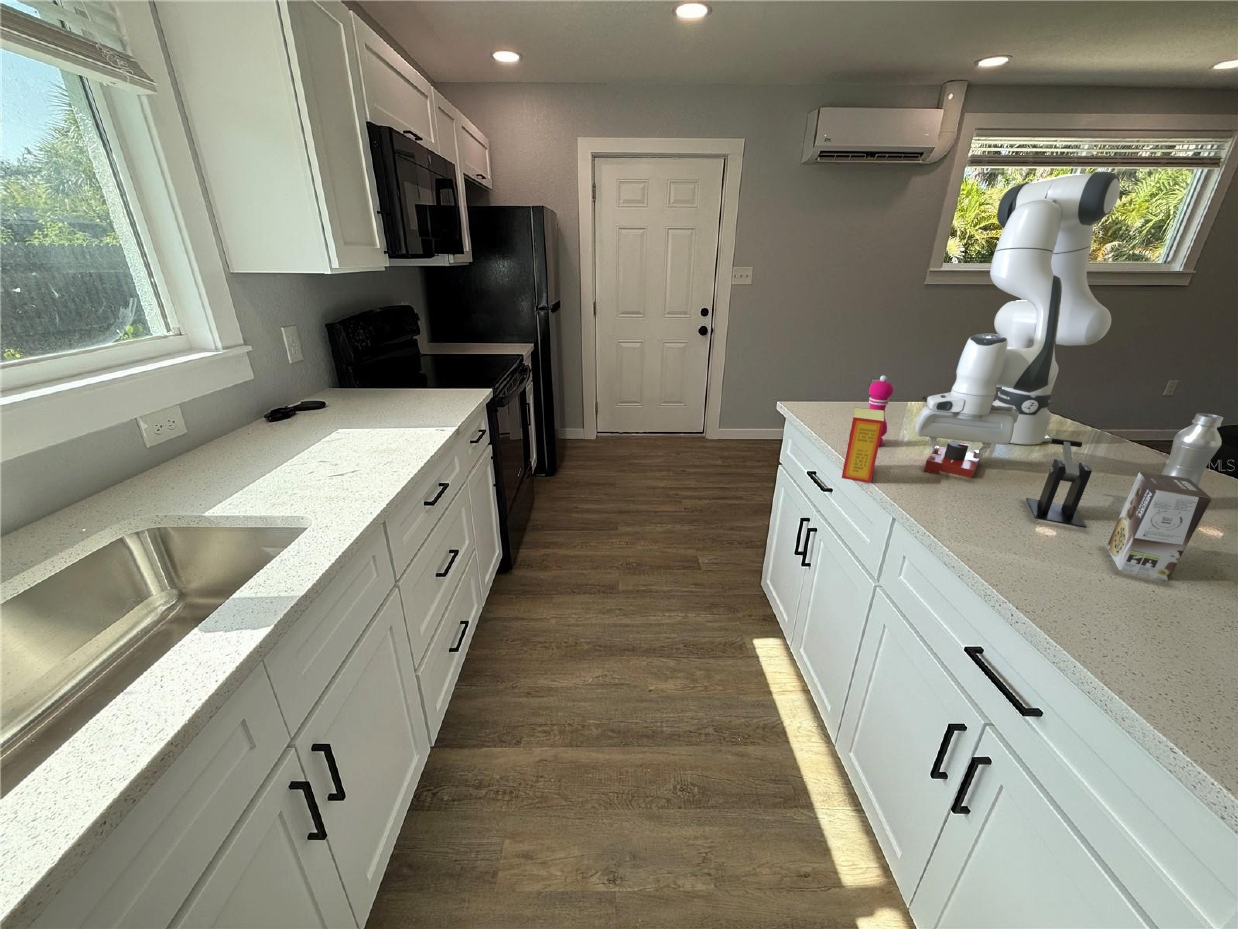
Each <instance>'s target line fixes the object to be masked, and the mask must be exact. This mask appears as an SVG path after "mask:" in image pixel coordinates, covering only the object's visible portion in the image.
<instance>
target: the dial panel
mask: <svg viewBox="0 0 1238 929" xmlns="http://www.w3.org/2000/svg"><path fill="white" fill-rule="evenodd" d="M937 446H938V445H937ZM938 447H939V451H938V454H931V453H930V455H929V456H928V458H927V459H926V462H925V465H924V470H923V471H924V472H927V473H932V474H935V475H936V474H937V475H941V474H940V472H942V473H946V474H952V475H955V476H956V475H957V476H960V477H964V478H970V479H972V478H973V476H974V474H975V472H976V470H977V467H978V466H979V464H980V462H981V459H974V458H973V454H974V452H969V451H967V453H966V457H965V459H964V460H952V459H949V458H947V457H945V456H944V455H945V451H946V448H947V447H945V446H940V445H939V446H938Z"/></svg>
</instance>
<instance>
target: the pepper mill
mask: <svg viewBox="0 0 1238 929" xmlns="http://www.w3.org/2000/svg"><path fill="white" fill-rule="evenodd" d="M887 380H888V377H887V376H886V375H884V374H883V375H881V376H880V378H879V380H876V381H874V382H873V383H872V384H870V386H869V388H868V393H869V395H870V396H869V398H868V399H869V400H868V403H869V408H868V409H875V410H884V424H883V429H882V434H881V438H880V443H879V447H881V446H883V442H884V438H883V437H884V436H885V435H886V434H887V433H888V423H887V419H886V416H885V415H886V414H885V413H886V407H887V406H888V405H889V401H890V399H889V398H890V397H892V395H894V394H893V393H894V386H893V384H892V383H890V382H889V381H887Z"/></svg>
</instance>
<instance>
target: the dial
mask: <svg viewBox="0 0 1238 929" xmlns="http://www.w3.org/2000/svg"><path fill="white" fill-rule="evenodd" d="M969 446H970V444H967V443H964V442H961V441H956V440H951V441H948V442H947V444H946V447H945V448H946V451H945V455H944V456H945V457H947V458H949V459H952V460H964V459H965V457H966V453H967V452H968V449H969Z"/></svg>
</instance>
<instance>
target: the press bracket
mask: <svg viewBox="0 0 1238 929" xmlns="http://www.w3.org/2000/svg"><path fill="white" fill-rule="evenodd" d="M1077 465H1078V466H1079V473H1080V475H1079V477H1078V478H1077V480H1076V481H1075V483H1073V482H1070V486H1069V488H1068V490H1067V492H1066V493H1067V494H1066V496H1065V498H1064V500H1063V503H1059V502H1053V501H1054V499H1055V496H1056V494H1057V492H1058V488H1059V486H1060V483H1061V478H1062V476H1063V473H1064V470H1065V468H1066V467H1065V465H1064V462H1063V461H1062V460H1061V459H1058V458H1054V459H1053V461H1052V465H1051V467H1050V468H1049V473H1048V475H1047V477H1046V481H1045V483H1044V486H1043V488H1042V491H1041V494H1040V497H1039V499H1035V498H1029V497H1026V498H1025V500H1026V502H1027V505H1028V507H1029V509H1030V511H1031V513H1032V516H1033V517H1034V519H1035V520H1041V521H1045V522H1051V523H1057V524H1063V525H1066V526H1067V525H1068V526H1072V527H1078V528H1084V529H1087V526H1086V524H1085V522H1084V521H1083V519H1082V518H1081V516H1080V515H1079V513H1078V511H1077V509H1078V507H1079V504H1080V502H1081V500H1082V498H1083V495H1084V492H1085V489H1086V487H1087V485H1088V482H1089V479H1090V478H1091V474H1092V472H1093V470H1092V469H1091V468H1090V467H1089V465H1088V464H1087V463H1086V462H1079V463H1078V464H1077Z"/></svg>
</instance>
